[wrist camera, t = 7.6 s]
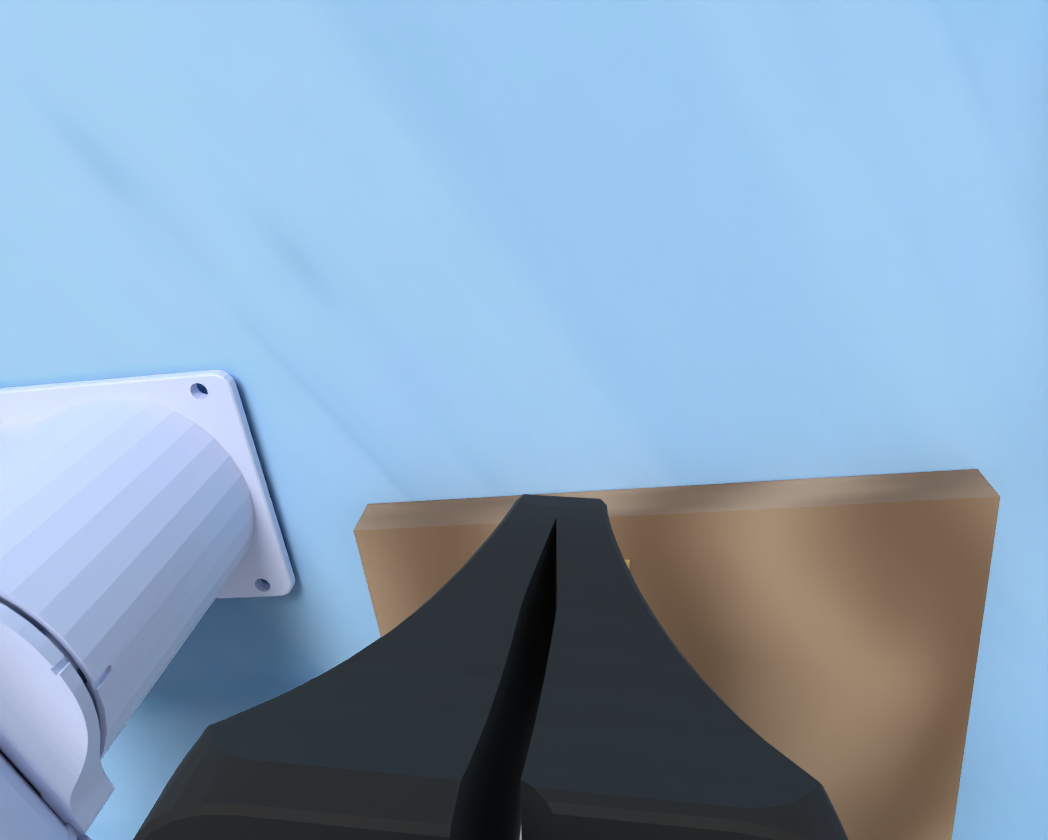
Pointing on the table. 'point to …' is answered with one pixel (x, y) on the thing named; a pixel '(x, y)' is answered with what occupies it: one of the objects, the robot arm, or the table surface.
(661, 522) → the stand board
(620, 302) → the table surface
